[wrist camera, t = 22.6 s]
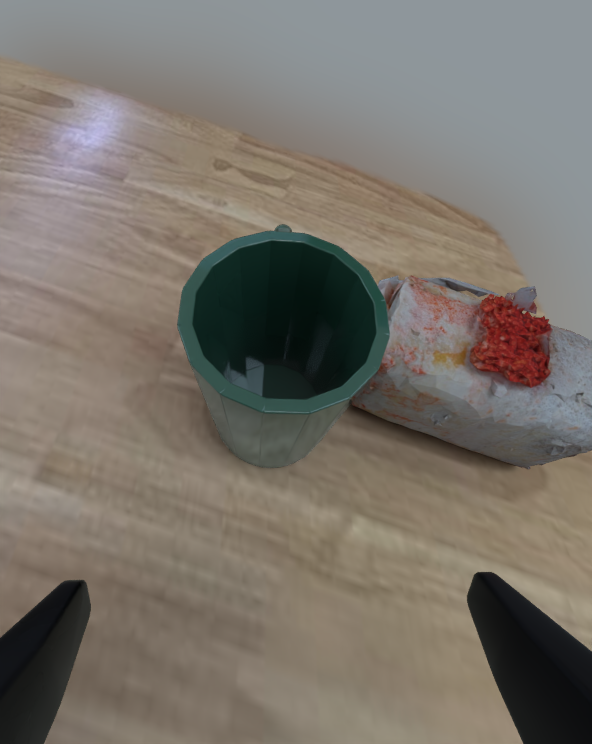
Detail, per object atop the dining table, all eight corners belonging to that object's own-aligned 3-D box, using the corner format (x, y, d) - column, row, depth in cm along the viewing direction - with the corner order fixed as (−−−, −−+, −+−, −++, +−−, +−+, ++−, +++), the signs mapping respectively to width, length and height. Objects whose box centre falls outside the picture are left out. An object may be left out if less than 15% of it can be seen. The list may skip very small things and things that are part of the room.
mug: (327, 468, 23) (401, 416, 11) (211, 467, 22) (164, 410, 11) (322, 331, 27) (372, 189, 15) (223, 327, 26) (197, 174, 14)
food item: (327, 413, 24) (370, 348, 15) (356, 319, 27) (407, 218, 18) (520, 482, 24) (684, 458, 15) (527, 378, 27) (666, 305, 18)
